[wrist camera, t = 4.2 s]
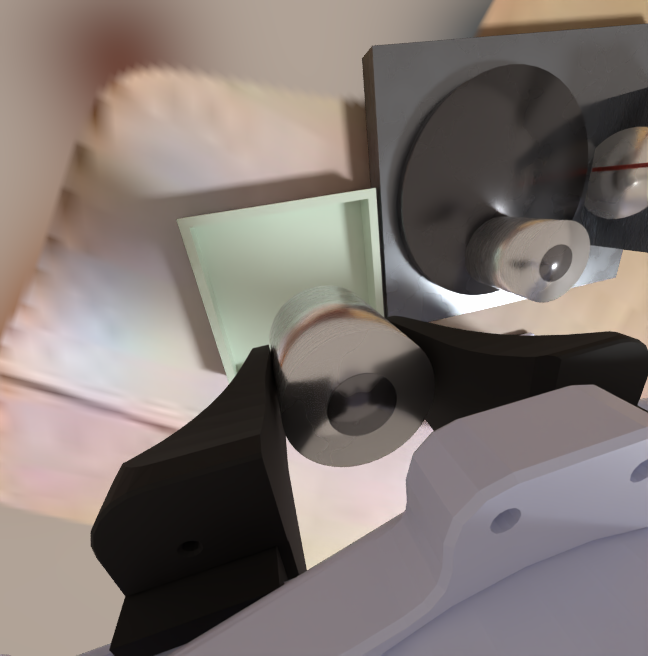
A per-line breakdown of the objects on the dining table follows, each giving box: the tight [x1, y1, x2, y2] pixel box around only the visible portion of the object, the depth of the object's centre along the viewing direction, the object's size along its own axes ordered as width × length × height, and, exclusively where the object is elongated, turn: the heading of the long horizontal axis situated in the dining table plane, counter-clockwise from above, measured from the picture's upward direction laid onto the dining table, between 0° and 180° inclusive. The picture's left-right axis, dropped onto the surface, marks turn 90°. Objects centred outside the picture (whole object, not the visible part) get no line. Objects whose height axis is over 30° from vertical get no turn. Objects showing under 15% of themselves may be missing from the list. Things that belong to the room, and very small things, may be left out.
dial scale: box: [362, 24, 648, 322], centre depth 19 cm, size 16×20×6 cm
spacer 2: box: [465, 216, 590, 302], centre depth 18 cm, size 4×4×5 cm
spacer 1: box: [269, 285, 435, 467], centre depth 10 cm, size 4×4×5 cm
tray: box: [176, 188, 384, 384], centre depth 20 cm, size 11×11×2 cm
